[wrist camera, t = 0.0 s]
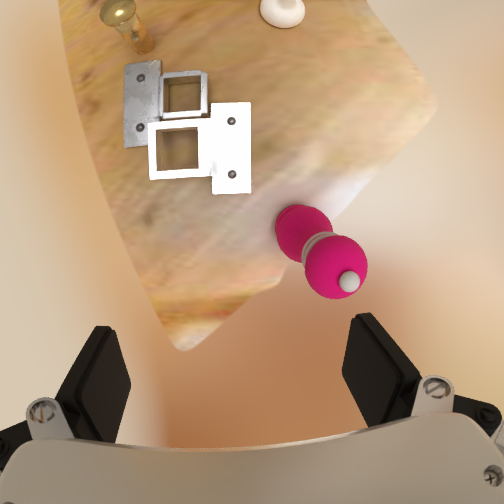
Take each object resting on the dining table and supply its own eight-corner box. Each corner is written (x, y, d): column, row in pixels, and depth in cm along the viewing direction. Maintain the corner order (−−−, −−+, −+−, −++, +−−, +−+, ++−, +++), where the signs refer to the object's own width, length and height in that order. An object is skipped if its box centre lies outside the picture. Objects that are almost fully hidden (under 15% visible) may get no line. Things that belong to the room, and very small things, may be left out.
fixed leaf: (127, 66, 32) (118, 58, 28) (208, 57, 33) (207, 48, 30) (126, 147, 36) (116, 147, 32) (208, 141, 37) (207, 139, 33)
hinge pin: (132, 36, 31) (102, -1, 19) (158, 32, 31) (136, -8, 19) (131, 59, 32) (97, 27, 20) (157, 55, 32) (132, 19, 20)
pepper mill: (272, 251, 43) (309, 328, 24) (271, 201, 41) (313, 246, 22) (320, 248, 44) (384, 317, 25) (321, 200, 41) (395, 241, 22)
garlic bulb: (251, 18, 32) (254, -4, 25) (272, -10, 30) (279, -34, 23) (289, 37, 34) (301, 20, 26) (309, 9, 32) (324, -11, 24)
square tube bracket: (162, 108, 35) (148, 97, 27) (249, 104, 36) (256, 91, 28) (165, 195, 39) (151, 206, 31) (250, 191, 40) (257, 201, 32)
